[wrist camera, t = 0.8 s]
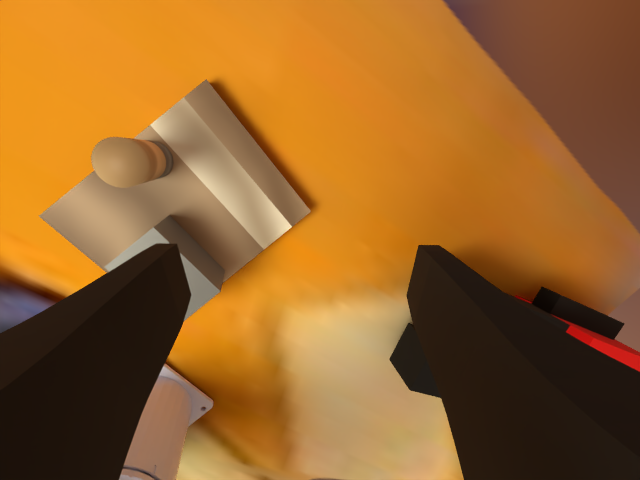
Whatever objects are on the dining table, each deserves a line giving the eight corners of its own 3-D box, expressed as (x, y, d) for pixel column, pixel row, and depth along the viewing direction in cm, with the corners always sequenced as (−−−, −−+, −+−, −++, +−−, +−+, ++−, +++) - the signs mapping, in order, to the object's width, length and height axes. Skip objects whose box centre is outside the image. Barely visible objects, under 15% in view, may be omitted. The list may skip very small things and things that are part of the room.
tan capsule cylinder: (153, 185, 22) (120, 197, 17) (124, 156, 21) (79, 158, 16) (181, 163, 22) (157, 167, 17) (153, 132, 21) (118, 126, 16)
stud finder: (187, 301, 25) (174, 330, 21) (128, 248, 23) (101, 269, 19) (225, 270, 25) (219, 293, 21) (169, 214, 23) (151, 228, 19)
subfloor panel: (173, 318, 27) (170, 325, 25) (49, 212, 22) (38, 216, 21) (308, 208, 26) (311, 211, 25) (208, 82, 22) (206, 79, 21)
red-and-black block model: (502, 270, 22) (686, 352, 30) (437, 239, 30) (595, 310, 37) (410, 430, 25) (601, 468, 32) (372, 363, 33) (533, 406, 40)
